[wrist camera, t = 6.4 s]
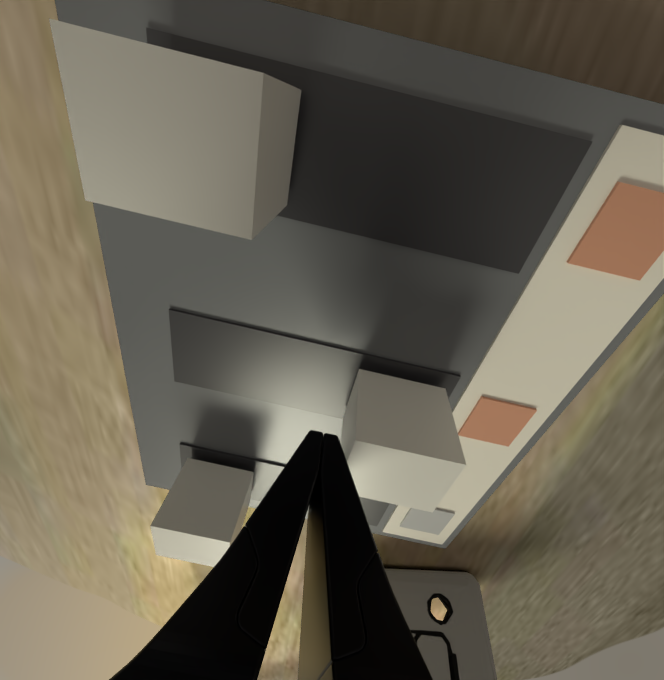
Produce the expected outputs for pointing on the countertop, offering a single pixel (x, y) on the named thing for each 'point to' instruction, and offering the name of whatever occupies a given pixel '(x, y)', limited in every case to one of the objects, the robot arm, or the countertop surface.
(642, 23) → the countertop surface
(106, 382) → the countertop surface
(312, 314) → the switch housing
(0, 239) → the countertop surface
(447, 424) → the switch tab
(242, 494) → the switch tab
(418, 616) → the electrical switch
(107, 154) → the switch tab
